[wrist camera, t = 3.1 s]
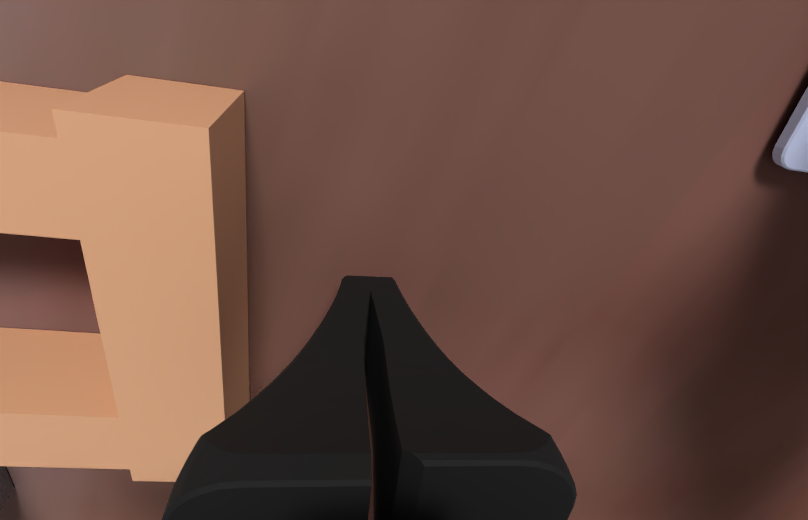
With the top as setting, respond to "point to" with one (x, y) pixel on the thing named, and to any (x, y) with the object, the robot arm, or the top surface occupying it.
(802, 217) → the top surface
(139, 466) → the clip
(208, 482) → the robot arm
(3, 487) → the grey hollow block
